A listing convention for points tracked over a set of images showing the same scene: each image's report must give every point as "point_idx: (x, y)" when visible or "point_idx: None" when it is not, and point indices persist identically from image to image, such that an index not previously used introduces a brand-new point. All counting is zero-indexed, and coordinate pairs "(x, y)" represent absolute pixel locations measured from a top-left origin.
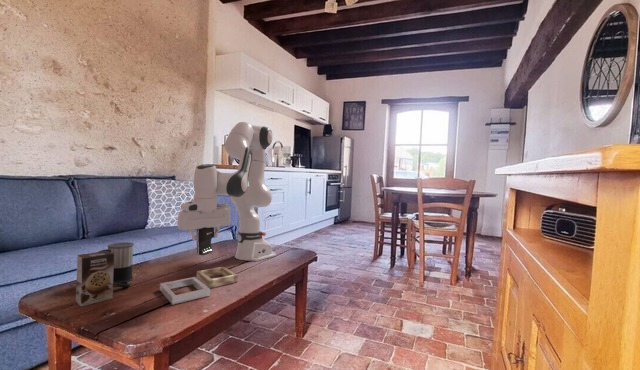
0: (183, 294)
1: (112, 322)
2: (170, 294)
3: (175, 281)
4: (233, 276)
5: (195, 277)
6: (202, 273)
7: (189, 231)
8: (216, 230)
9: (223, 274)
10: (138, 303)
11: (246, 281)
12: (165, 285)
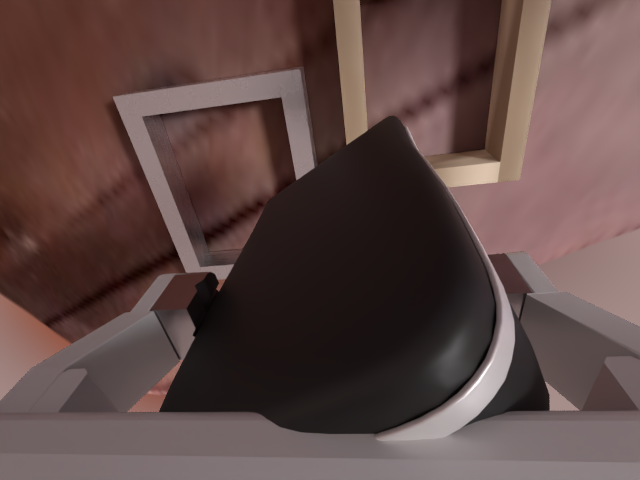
0: (227, 273)
1: (54, 294)
2: (180, 252)
3: (190, 102)
4: (490, 181)
5: (301, 84)
6: (352, 43)
7: (39, 383)
8: (571, 363)
9: (504, 9)
10: (81, 203)
11: (545, 178)
12: (145, 141)
